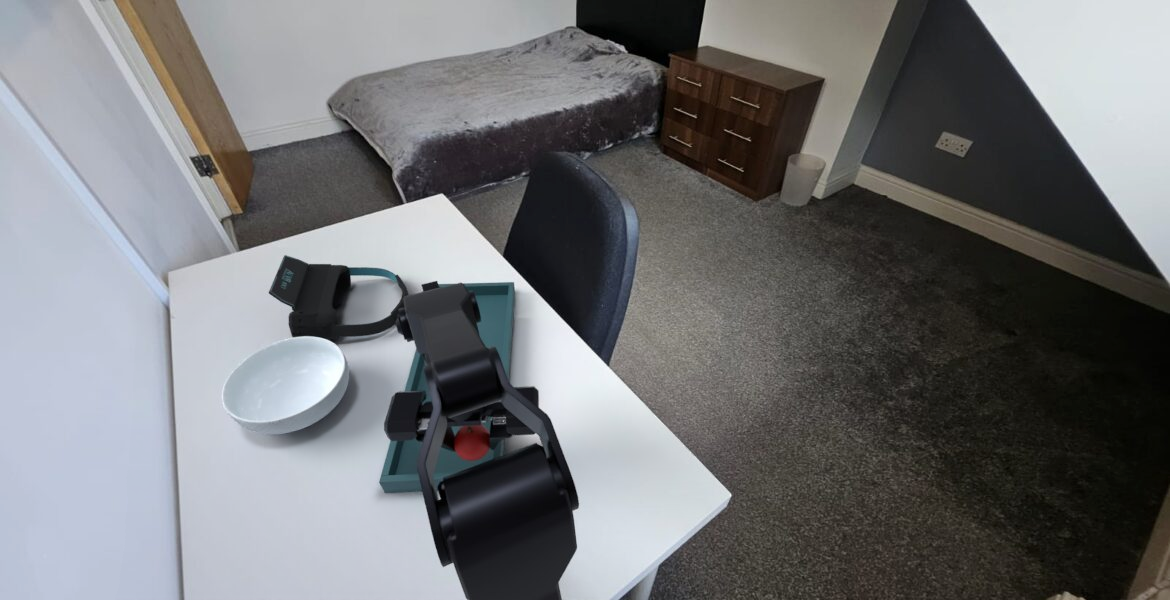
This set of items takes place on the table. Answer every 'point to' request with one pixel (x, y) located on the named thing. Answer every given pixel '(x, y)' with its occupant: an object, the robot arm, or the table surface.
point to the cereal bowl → (286, 385)
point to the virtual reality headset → (325, 298)
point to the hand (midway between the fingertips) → (474, 447)
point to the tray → (404, 454)
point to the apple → (472, 442)
